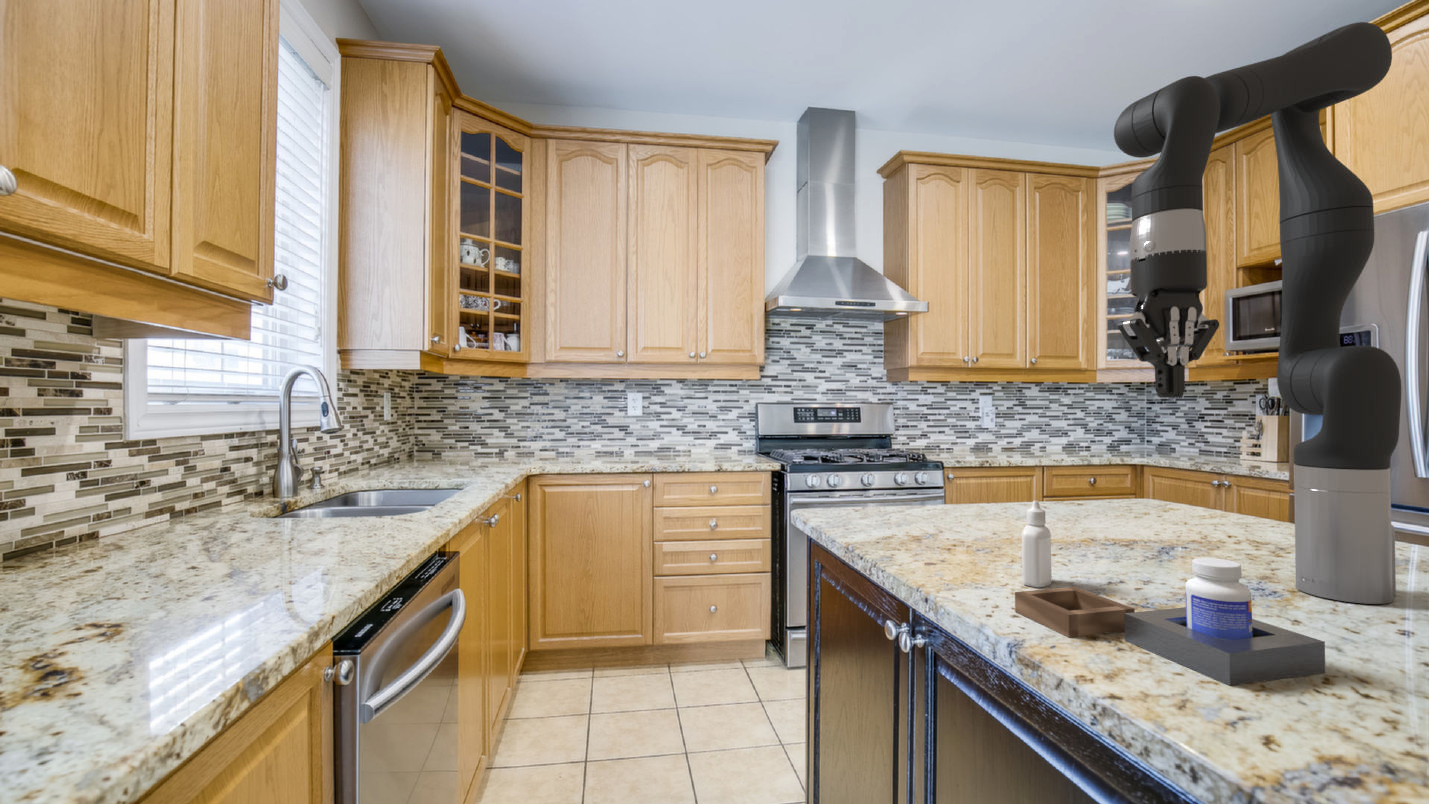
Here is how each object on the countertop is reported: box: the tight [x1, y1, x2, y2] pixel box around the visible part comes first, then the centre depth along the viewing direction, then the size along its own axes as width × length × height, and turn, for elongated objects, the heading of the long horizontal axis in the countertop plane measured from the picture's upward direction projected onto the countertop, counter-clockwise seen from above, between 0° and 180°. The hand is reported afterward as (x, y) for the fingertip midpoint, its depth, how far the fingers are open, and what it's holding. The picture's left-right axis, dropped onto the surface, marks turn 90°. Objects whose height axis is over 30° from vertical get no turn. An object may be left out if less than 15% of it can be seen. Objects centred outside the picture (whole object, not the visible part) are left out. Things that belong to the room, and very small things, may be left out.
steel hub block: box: [1124, 606, 1326, 686], centre depth 65 cm, size 12×12×3 cm
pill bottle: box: [1184, 557, 1253, 641], centre depth 65 cm, size 5×5×10 cm
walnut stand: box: [1014, 586, 1136, 638], centre depth 76 cm, size 9×9×2 cm
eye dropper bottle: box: [1021, 500, 1053, 589], centre depth 92 cm, size 4×6×12 cm
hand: (1169, 397), depth 76 cm, fingers closed
